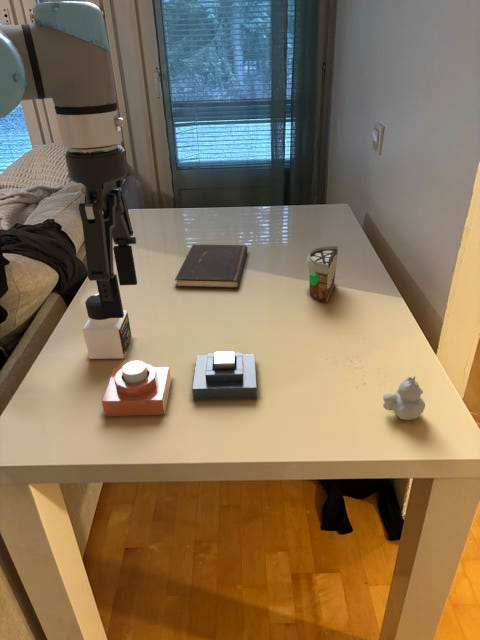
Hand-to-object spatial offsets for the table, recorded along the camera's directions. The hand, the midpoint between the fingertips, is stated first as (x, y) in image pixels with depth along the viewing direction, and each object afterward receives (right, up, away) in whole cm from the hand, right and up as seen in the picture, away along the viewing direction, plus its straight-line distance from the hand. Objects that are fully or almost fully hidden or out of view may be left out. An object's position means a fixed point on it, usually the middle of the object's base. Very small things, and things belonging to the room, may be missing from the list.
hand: (121, 299), depth 71 cm
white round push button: (0, -13, +8) cm, 15 cm away
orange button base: (+1, -17, +10) cm, 20 cm away
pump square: (+15, -11, +12) cm, 22 cm away
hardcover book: (+11, +11, +55) cm, 57 cm away
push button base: (+16, -14, +13) cm, 25 cm away
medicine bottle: (-8, -9, +23) cm, 26 cm away
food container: (+37, +4, +42) cm, 56 cm away
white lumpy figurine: (+45, -19, +5) cm, 49 cm away
